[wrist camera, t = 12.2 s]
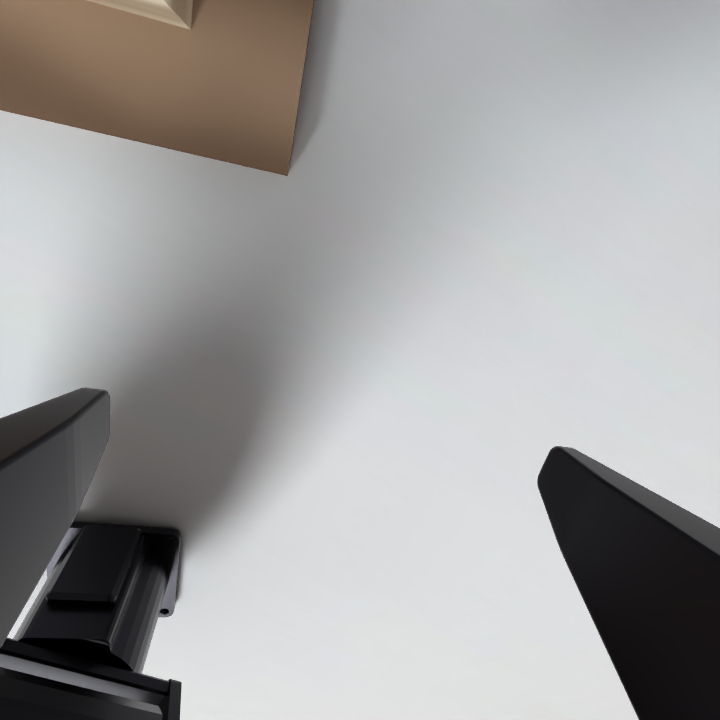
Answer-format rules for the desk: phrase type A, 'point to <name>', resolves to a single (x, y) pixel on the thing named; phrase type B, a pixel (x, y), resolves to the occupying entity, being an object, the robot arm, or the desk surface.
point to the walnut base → (162, 74)
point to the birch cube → (156, 9)
